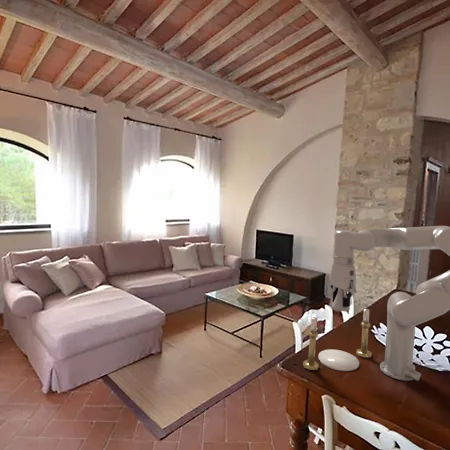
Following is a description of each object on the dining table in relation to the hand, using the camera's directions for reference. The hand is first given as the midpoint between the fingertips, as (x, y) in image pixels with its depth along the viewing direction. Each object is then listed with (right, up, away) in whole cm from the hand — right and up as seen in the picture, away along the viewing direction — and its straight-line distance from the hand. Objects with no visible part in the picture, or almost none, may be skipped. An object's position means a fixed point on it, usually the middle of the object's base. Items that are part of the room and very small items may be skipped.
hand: (341, 303), depth 129 cm
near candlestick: (-13, -24, -3) cm, 28 cm away
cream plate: (0, -24, +2) cm, 24 cm away
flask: (0, -2, 0) cm, 2 cm away
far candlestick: (+13, -24, +7) cm, 28 cm away
